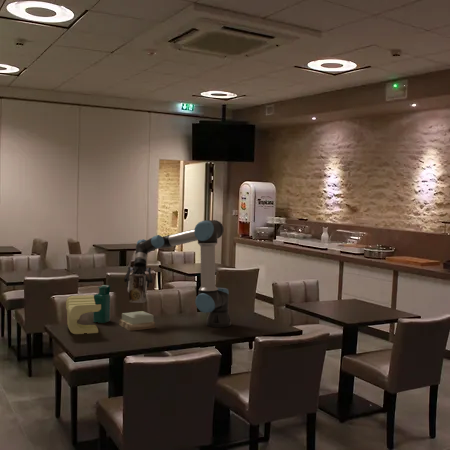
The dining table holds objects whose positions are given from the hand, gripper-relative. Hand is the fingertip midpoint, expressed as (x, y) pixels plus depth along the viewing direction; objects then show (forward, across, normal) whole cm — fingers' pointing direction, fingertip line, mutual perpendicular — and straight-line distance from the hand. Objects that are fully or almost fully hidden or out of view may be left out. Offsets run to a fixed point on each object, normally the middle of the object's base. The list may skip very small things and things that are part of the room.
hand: (137, 291), depth 325 cm
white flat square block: (+11, 0, -15) cm, 19 cm away
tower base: (+14, 0, -18) cm, 23 cm away
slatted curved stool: (+23, +30, -8) cm, 38 cm away
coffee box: (+3, 0, -7) cm, 8 cm away
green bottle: (+5, +23, -26) cm, 35 cm away
